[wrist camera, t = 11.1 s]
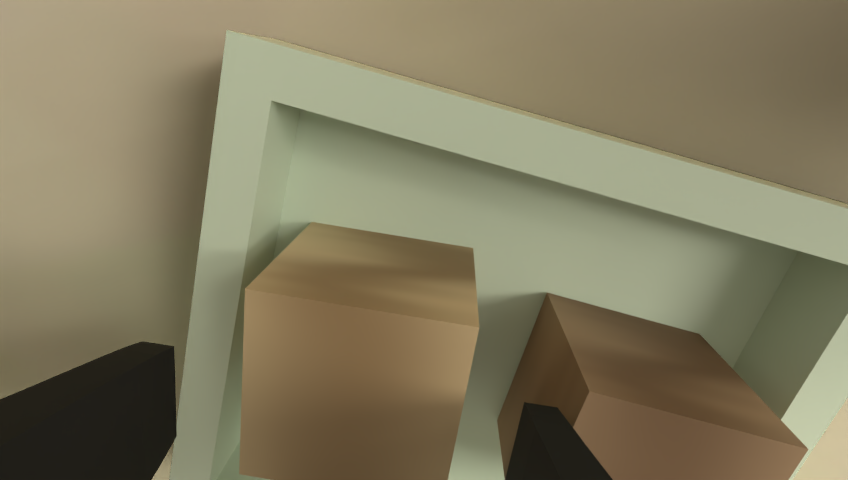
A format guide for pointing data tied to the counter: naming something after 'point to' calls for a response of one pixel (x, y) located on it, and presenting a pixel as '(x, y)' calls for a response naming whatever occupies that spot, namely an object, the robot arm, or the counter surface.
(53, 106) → the counter surface
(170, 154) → the counter surface
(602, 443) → the block
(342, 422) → the block
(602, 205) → the tray
